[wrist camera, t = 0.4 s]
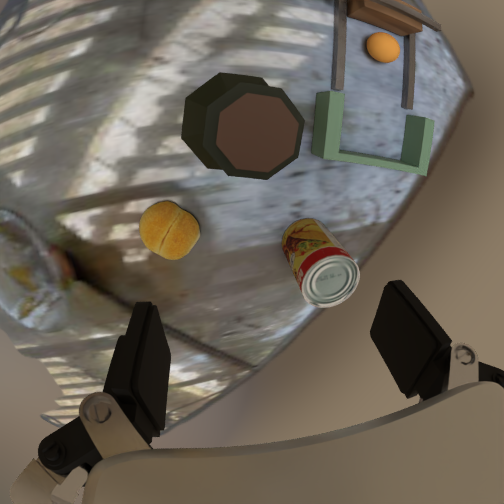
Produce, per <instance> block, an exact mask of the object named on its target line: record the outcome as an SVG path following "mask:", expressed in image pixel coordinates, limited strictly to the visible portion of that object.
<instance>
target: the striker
mask: <svg viewBox="0 0 504 504" xmlns="http://www.w3.org/2000/svg"><path fill="white" fill-rule="evenodd" d="M347 16H348V17H351V18H354V19H358V20H361V21H364V22H367V23H369V24H372V25H375V26H378V27H380V28H383V29H386V30H388V31H391V32H393V33H395V34H398V35H400V36H404V35H408V34H412V33H417V32H421V31H423V30H422V24H423V25H425V26H427V27H429V28H431V29H433V30H434V31H436V32H437V31H441V25H440V24H439V23H437V22H435V21H434V20H432V19H430V18H428V17H427V16H425V15H423V14H421V10H419V9H417V8H415V7H413V6H411V5H409V4H407V3H405V2H403V1H401V0H347Z"/></svg>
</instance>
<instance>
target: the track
mask: <svg viewBox="0 0 504 504" xmlns="http://www.w3.org/2000/svg"><path fill="white" fill-rule="evenodd" d="M346 15H347V4H346V0H335V19H334V49H333V68H332V83H331V89H333V90H338V91H339V90H343V87H344V72H345V54H346ZM414 83H415V33H412V34H408V35H404V73H403V91H402V104H401V107H402V108H405V109H411V110H413V98H414Z"/></svg>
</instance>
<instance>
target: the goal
mask: <svg viewBox="0 0 504 504" xmlns="http://www.w3.org/2000/svg"><path fill="white" fill-rule="evenodd" d="M344 96H345V94H343V93H338V92H333V91H326V92H320V93H317V96H316V108H315V119H314V130H313V140H312V149H311V153H312V154H314V155H316V156H318V157H320V158H323V159H329V160H337V161H345V162H352V163H359V164H366V165H372V166H378V167H384V168H390V169H395V170H400V171H405V172H410V173H415V174H420V175H425V176H426V174H427V169H428V164H429V158H430V152H431V145H432V138H433V130H434V122H435V121H433V120H431V119H428V118H425V117H419V116H412V115H407V116H406V125H405V133H404V141H403V148H402V154H401V161H400V160H395V159H390V158H385V157H380V156H374V155H369V154H363V153H357V152H351V151H344V150H339V145H340V137H341V128H342V118H343V107H344Z"/></svg>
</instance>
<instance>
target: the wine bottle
mask: <svg viewBox="0 0 504 504" xmlns="http://www.w3.org/2000/svg"><path fill="white" fill-rule="evenodd" d="M304 122H305V120H304V118H303V117H302V116H301V114H300V113H299V111H298V110H297V109H296V107H295V106H294V104H293V103H292V102H291V100H290V99H289V98H288V96H287V95H286V94H285V92H284V91H283V90H282V89H281V88H276V87H270V86H268V84H267V83H266V82H265V81H264V79H263V78H260V77H254V76H246V75H238V74H230V73H218V74H217V75H216V76H214V77H213V78H211V79H210V80H209V81H207V82H206V83H205V84H203V85H202V86H201V87H199V88H198V89H197V90H195V91H194V92H193V93H192V94H190V95H189V96H188V97H186V100H185V108H184V116H183V125H182V135H181V139H182V140H183V141H184V142H185V143H186V144H187V146H188V147H189V148H190V149H191V150H192V151H193V152H194V154H195V155H196V156H197V157H198V158H199V159H200V160H201V162H202V163H203V164H204V165H205V166H206V167H207V168H208V169H220V170H224V172H225V173H226V174H227V175H228V176H236V177H245V178H254V179H263V180H268V179H269V178H270V177H272V176H273V175H274V174H276V173H277V172H279V171H280V170H281V169H283V168H284V167H286V166H287V165H288V164H290V163H291V162H292V161H294V160H295V159H297V158H298V156H299V150H300V145H301V139H302V133H303V128H304Z"/></svg>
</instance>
